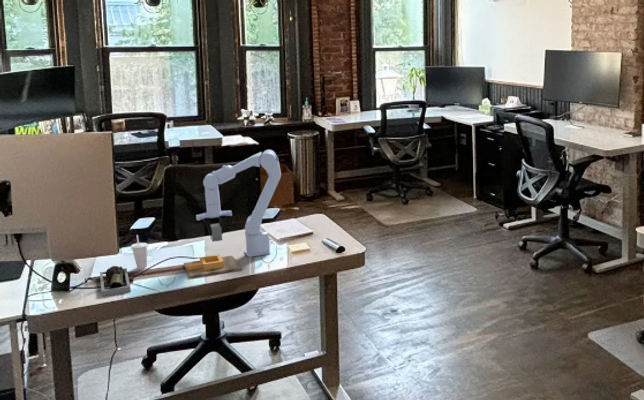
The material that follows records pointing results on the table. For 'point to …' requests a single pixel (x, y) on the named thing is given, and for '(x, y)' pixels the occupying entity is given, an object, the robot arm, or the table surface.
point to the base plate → (229, 266)
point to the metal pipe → (115, 276)
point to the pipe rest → (115, 290)
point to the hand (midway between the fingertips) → (216, 234)
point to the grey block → (216, 232)
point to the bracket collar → (207, 263)
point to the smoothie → (140, 254)
